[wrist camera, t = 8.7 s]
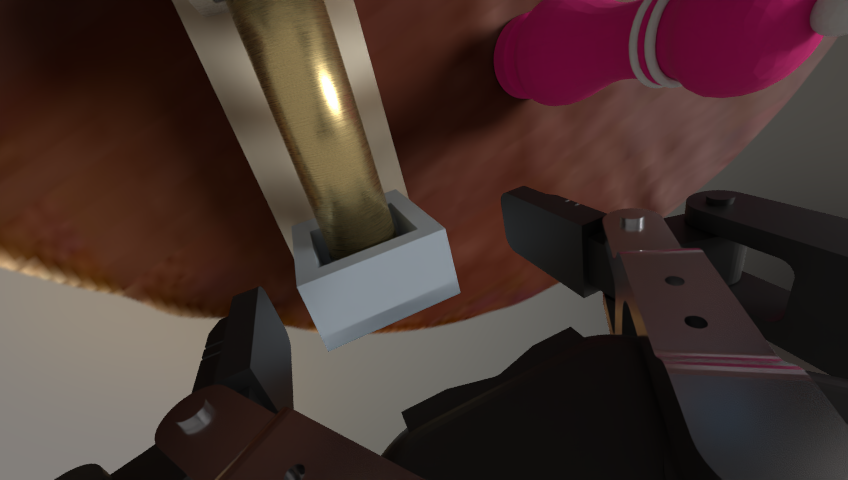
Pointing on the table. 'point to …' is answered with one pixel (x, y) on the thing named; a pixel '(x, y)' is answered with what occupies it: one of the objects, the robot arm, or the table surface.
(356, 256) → the socket
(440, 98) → the table surface
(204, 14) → the matte grey cuboid
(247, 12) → the tube
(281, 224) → the board
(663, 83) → the pepper mill
